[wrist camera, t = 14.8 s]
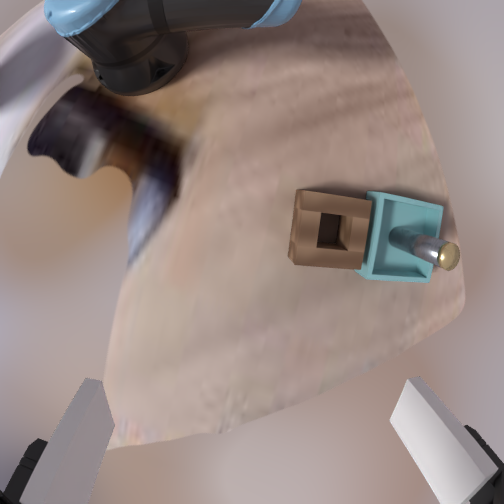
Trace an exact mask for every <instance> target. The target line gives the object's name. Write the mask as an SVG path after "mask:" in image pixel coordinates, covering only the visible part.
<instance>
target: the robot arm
mask: <svg viewBox="0 0 504 504" xmlns="http://www.w3.org/2000/svg"><path fill="white" fill-rule="evenodd" d="M301 2H302V0H45V4H44V13H45V17H46V19H47V20H48V22H49V23H50V24H51V25H52V26H53V27H54V28H55V30H56V32H57V33H58V34H60V36H63V37H64V38H65V39H66V40H68V41H69V42H70V43H71V44H73V45H74V46H75V47H77V48H78V49H79V50H80V51H82V52H83V53H84V54H85V55H87V56H88V57H89V58H90V59H91V60H92V64H93V69H94V72H95V75H96V77H97V79H98V80H99V81H100V83H101V84H102V85H104V86H105V87H106V88H107V89H109V90H110V91H112V92H114V93H116V94H119V95H123V96H138V95H143V94H147V93H150V92H152V91H154V90H157V89H158V88H160V87H162V86H163V85H165V84H166V83H168V82H169V81H170V80H171V79H172V78H173V77H174V76H175V75H176V74H177V73H178V72H179V71H180V69H181V68H182V66H183V64H184V62H185V60H186V57H187V54H188V39H187V35H186V31H194V30H205V29H218V28H242V29H251V28H255V27H277V26H280V25H282V24H284V23H286V22H288V21H289V20H290V19H291V18H292V17H293V16H294V15H295V13H296V12H297V10H298V8H299V6H300V4H301ZM390 422H391V424H392V425H393V427H394V429H395V430H396V432H397V433H398V435H399V437H400V438H401V440H402V441H403V443H404V444H405V446H406V448H407V449H408V451H409V453H410V454H411V456H412V457H413V459H414V461H415V462H416V464H417V465H418V467H419V469H420V470H421V472H422V473H423V475H424V477H425V479H426V480H427V482H428V484H429V485H430V487H431V489H432V490H433V492H434V493H435V495H436V497H437V498H438V500H439V502H440V503H441V504H466V503H467V502H468V501H470V503H471V504H504V463H503V462H502V461H501V460H500V459H499V458H498V456H497V455H496V454H495V453H494V451H493V450H492V449H491V448H490V447H489V445H486V442H485V441H484V440H483V439H482V437H481V436H480V435H479V434H478V433H477V431H476V430H474V429H473V428H471V427H469V426H468V425H465V426H463V425H462V424H461V423H460V421H459V420H458V419H457V418H456V417H455V416H454V414H453V413H452V412H451V411H450V410H449V409H448V407H447V406H446V405H445V404H444V403H443V402H442V401H441V400H440V398H439V397H438V396H437V395H436V394H435V393H434V391H433V390H432V389H431V388H430V387H429V386H428V385H427V384H426V383H425V382H424V380H423V379H422V378H421V377H420V376H419V377H414V378H410V379H407V381H406V384H405V386H404V389H403V392H402V394H401V396H400V398H399V401H398V403H397V405H396V407H395V410H394V412H393V414H392V416H391V418H390ZM114 427H115V424H114V421H113V418H112V415H111V411H110V408H109V405H108V401H107V398H106V394H105V391H104V387H103V383H102V381H100V380H95V379H90V378H85V380H84V382H83V383H82V385H81V386H80V388H79V390H78V391H77V393H76V395H75V396H74V398H73V400H72V402H71V403H70V405H69V406H68V408H67V410H66V412H65V413H64V415H63V417H62V419H61V420H60V422H59V424H58V426H57V427H56V429H55V431H54V433H53V435H52V436H51V438H50V440H49V442H46V441H44V440H41V439H39V438H38V439H37V440H36V441H34V442H33V443H32V444H31V445H29V446H28V448H27V450H26V452H25V454H24V455H23V456H24V457H23V458H22V459H21V461H20V463H19V465H18V466H17V468H16V470H15V472H14V474H13V475H12V478H11V479H10V481H9V483H8V485H7V487H6V489H5V491H4V492H3V493H2V491H1V490H0V504H88V501H89V498H90V495H91V492H92V489H93V486H94V483H95V480H96V477H97V474H98V471H99V468H100V465H101V462H102V459H103V457H104V454H105V451H106V448H107V446H108V443H109V440H110V437H111V435H112V432H113V429H114Z"/></svg>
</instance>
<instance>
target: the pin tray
mask: <svg viewBox="0 0 504 504" xmlns="http://www.w3.org/2000/svg"><path fill="white" fill-rule="evenodd" d="M366 200H369V201H372V205H371V212H370V219H369V226H368V233H367V239H366V245H365V251H364V256H363V262H362V267H361V270H355V272H357V273H358V274H360V275H361V276H362V277H364V278H365V279H370V280H387V281H405V282H425V283H429V282H430V278H431V273H432V269H433V264H432V263H429V262H427V261H425V260H423V259H420V258H418V257H416V256H413V255H411V254H409V253H406V252H404V251H402V250H399V249H397V248H395V247H393V246H391V245H390V243H389V239H388V237H389V233H390V231H391V230H392V229H393V228H394V227H402V228H405V229H409V230H412V231H415V232H419V233H422V234H425V235H429V236H432V237H435V238H438V239H439V233H440V227H441V221H442V214H443V206H440V205H436V204H432V203H428V202H423V201H419V200H415V199H410V198H406V197H401V196H397V195H392V194H387V193H382V192H373V191H367V195H366Z"/></svg>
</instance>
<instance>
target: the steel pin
mask: <svg viewBox="0 0 504 504" xmlns="http://www.w3.org/2000/svg"><path fill="white" fill-rule="evenodd" d="M388 239H389V243H390V245H391V246H393V247H395V248H397V249H399V250H402V251H404V252H406V253H409V254H411V255H413V256H416V257H418V258H420V259H423V260H425V261H427V262H429V263H432V264H434V265H436V266H438V267H441V268H443V269H445V270H447V271H450V270H452V269H454V268H455V267H456V266H457V264H458V262H459V258H460V250H459V247H458V246H457V245H456V244H454V243H451V242H448V241H444V240H441V239H438V238H435V237H432V236H429V235H425V234H422V233H419V232H415V231H412V230H409V229H405V228H402V227H394V228H393V229H392V230H391V231H390V233H389V237H388Z"/></svg>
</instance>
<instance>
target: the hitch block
mask: <svg viewBox="0 0 504 504" xmlns="http://www.w3.org/2000/svg"><path fill="white" fill-rule="evenodd" d="M371 205H372V201H369V200H363V199H357V198H352V197H345V196H339V195H333V194H326V193H319V192H313V191H305V190H296V196H295V205H294V213H293V221H292V229H291V237H290V244H289V252H288V257H289V258H290V259H291V260H292V262H293V263H294V264H295V265H303V266H316V267H329V268H342V269H355V270H361V267H362V262H363V256H364V251H365V245H366V239H367V233H368V226H369V219H370V212H371ZM321 212H322V213H329V214H337V215H340V220H339V227H338V234H337V240H336V244H333V243H324V242H317V239H318V233H319V225H320V218H321Z"/></svg>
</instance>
